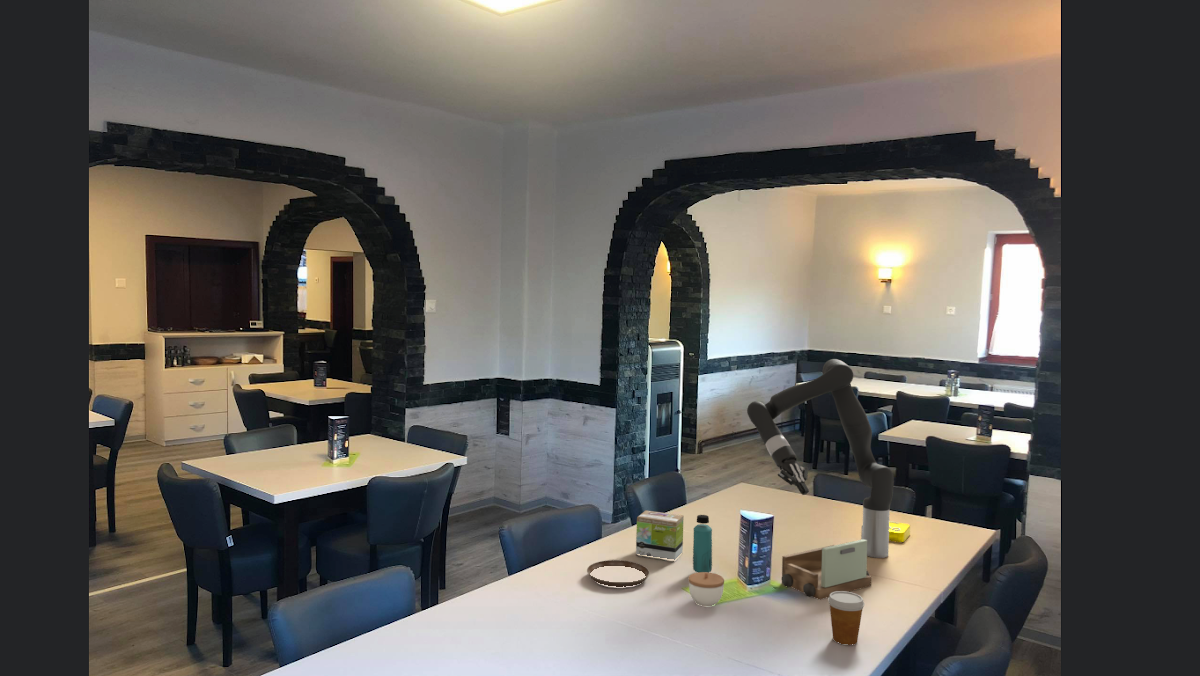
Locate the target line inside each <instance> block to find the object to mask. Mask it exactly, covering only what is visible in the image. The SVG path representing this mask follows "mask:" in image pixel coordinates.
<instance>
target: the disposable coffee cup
mask: <svg viewBox="0 0 1200 676" xmlns="http://www.w3.org/2000/svg"><path fill="white" fill-rule="evenodd" d="M827 601H828V605H829V612H830V623H831V624H830V625H831V631H832V632H831V633H832V640H833V639H834V640H835V641H836V642H835V641H834V640H833V641H834V642H835V643H837V642H839V643H841V644H840V645H842V644H848V645H847V646H855V645H856V644H858V640H859V634H860V625H861V619H862V615H863V609H864V607H865V601H864V598H863V597H862V596H861V595H859V594H858V593H855V592H853V591H850V592H846V591H836V592H832V593H831V594H830V596H829V597H827ZM839 643H838V644H839ZM852 644H853V645H852ZM854 644H855V645H854Z"/></svg>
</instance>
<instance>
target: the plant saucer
mask: <svg viewBox="0 0 1200 676" xmlns="http://www.w3.org/2000/svg"><path fill="white" fill-rule="evenodd" d="M604 566H625V567H631V568H635V569H637V570H639V571H642V572H643V573H644V574H645V576H646V577H645V578H643V579H641V580H638V581H633V582H609V581H604V580H600V579H597V578H595V577H593V576H591V575H590V573H591V572H592V571H593V570H594V569H597V568H599V567H604ZM586 572H587V574H588V576H589V578H591V580H592V579H593V580H594V581H596V582H598V583H600V584H604V585H608V586H616V587H623V586H624V587H626V586H633V585H637V584H640V583H641V584H643V583H644V582H646V580H647V579H648V577H649V576H650V570H649V568H648V567H646V566H644V565H643V564H641V563H637V562H635V561H629V560H624V559H622V560H620V559H612V560H611V559H609V560H601V561H597V562H594V563H591V564H590V565H589V566H588V567H587V569H586ZM593 580H592V581H593ZM594 581H593V582H594ZM596 582H595V583H596ZM642 582H643V583H642ZM641 584H640V585H641Z"/></svg>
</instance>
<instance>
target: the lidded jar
mask: <svg viewBox="0 0 1200 676" xmlns="http://www.w3.org/2000/svg"><path fill="white" fill-rule="evenodd" d="M724 583H725V579H724V577H723V576H722V575H720V574H718V573H713V572H694V573H692V574H690V575H688V591H689V594H690V597H691V599H692V600H693V601H694V602H695V604H696V603H697V604H699V605H702V606H712V605H714V604H716V605H717V603H719V602H720V601H721V599H722V596H723V594H724ZM697 604H696V605H697ZM699 605H698V606H699ZM702 606H701V607H702ZM712 607H713V606H712Z"/></svg>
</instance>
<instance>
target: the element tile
mask: <svg viewBox="0 0 1200 676" xmlns="http://www.w3.org/2000/svg"><path fill="white" fill-rule="evenodd" d="M909 535H911V524H909V523H906V522H897V521H892V520H889V542H893V541H896V542H895V543H899V542H903V543H905V542H906V541H907V539H908V538H909V537H910V536H909ZM908 536H909V537H908ZM905 540H906V541H905ZM904 541H905V542H904Z"/></svg>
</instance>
